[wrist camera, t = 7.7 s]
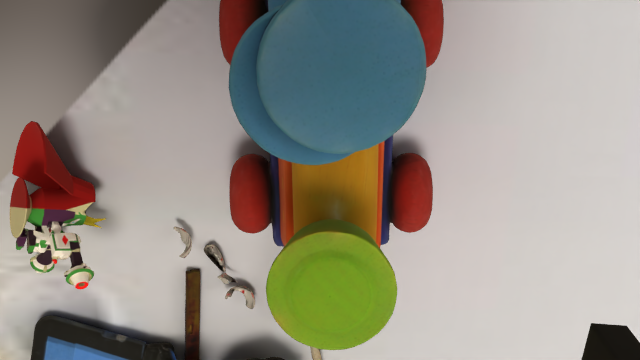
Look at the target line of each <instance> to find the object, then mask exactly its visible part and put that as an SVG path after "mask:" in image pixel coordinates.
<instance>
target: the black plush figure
mask: <svg viewBox="0 0 640 360" xmlns="http://www.w3.org/2000/svg"><path fill="white" fill-rule="evenodd" d="M248 360H284V359H282V358H280V357H270V358H266V359H260V358H252V359H248Z"/></svg>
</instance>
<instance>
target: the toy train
mask: <svg viewBox="0 0 640 360" xmlns="http://www.w3.org/2000/svg"><path fill="white" fill-rule="evenodd" d="M443 22H444V19H443V4H442V0H221V1H220V11H219V27H220V41H221V47H222V51H223V54H224V57H225V59H226V60H227V62H228V63H229V64H230V65H231V66H230V73H229V92H230V97H231V102H232V106H233V109H234V111H235V113H236V116H237V118H238V120H239V122H240V124H241V125H242V127H243V128H244V129H245V131H246V132H247V133H248V135H249V136H250V137H251V138H252V139H253V140H254V141H255V142H256V143H257V144H258V145H259V146H260V147H261V148H262V149H264V150H265V151H267V152H269V153H270V163H269V162H268V161H267V160H266V159H265V158H264V157H262V156H259V155H256V154H248V155H244V156H242V157H241V158H239V159H238V160H237V161H236V162H235V164H234V165H233V168H232V171H231V176H230V210H231V216H232V220H233V222H234V224H235V225H236V226H237V227H238V228H239V229H240V230H242V231H243V232H246V233H257V232H260V231H262V230H264V229H265V228H267V226H268V225H269V224H270V223H272V227H273V239H274V242H275V244H276V245H277V246H284V248H283V249H282V251H281V252H280V253H279V255H278V256H277V257H276V259H275V261H274V262H273V264H272V267H271V269H270V271H269V274H268V279H267V284H266V294H267V301H268V305H269V308H270V310H271V313H272V315H273V317H274V319H275V320H276V322H277V323H278V324H279V325H280V327H281V328H282V329H283V330H284V331H285V332H286V333H287V334H288V335H290V336H291V337H292V338H294V339H295V340H297V341H299V342H301V343H303V344H305V345H308V346H310V347H311V353H312V358H313V360H322V358H321V354H320V351H319V349H325V350H342V349H348V348H352V347H355V346H357V345H360V344H362V343H364V342H366V341H368V340H369V339H370V338H372V337H373V336H375V335H376V334H378V333H379V331H380V330H381V329H382V328H383V327H384V326H385V325H386V323H387V322H388V320H389V319H390V317H391V315H392V314H393V311H394V307H395V303H396V297H397V284H396V279H395V274H394V271H393V269H392V267H391V265H390V263H389V261H388V260H387V258H386V257H385V255H384V254H383V252H382V251H381V249H380V245H383V244H386V243H387V242H388V240H389V226H390V222H391V223H393V225H394V226H395V227H396V228H398V229H399V230H401V231H405V232H409V233H410V232H416V231H418V230H420V229H422V228H423V227H424V226H425V225H426V224H427V222H428V220H429V218H430V215H431V211H432V200H433V186H432V177H431V171H430V167H429V166H428V164H427V162H426V160H425V159H423V158H422V157H421V156H420V155H417V154H415V153H405V154H401V155H399V156H398V157H396V158H395V159H394V160H393V162H392V149H393V134H394V133H395V132H397V131H398V130H399V129H400V128H401V127H402V126H403V125H404V124H405V123H406V121H407V120H408V119H409V118H410V116H411V115H412V113H413V111H414V109H415V108H416V106H417V104H418V102H419V99H420V97H421V94H422V92H423V89H424V85H425V80H426V68H427V67H429V66H430V65H432V64H433V63H434V62H435V60H436V59H437V56H438V54H439V51H440V48H441V43H442V37H443Z"/></svg>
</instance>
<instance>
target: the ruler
mask: <svg viewBox="0 0 640 360" xmlns="http://www.w3.org/2000/svg"><path fill="white" fill-rule="evenodd" d="M199 323H200V270H199V269H194V270H190V271H186V305H185V360H199Z"/></svg>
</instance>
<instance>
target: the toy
mask: <svg viewBox="0 0 640 360" xmlns="http://www.w3.org/2000/svg"><path fill="white" fill-rule="evenodd" d="M174 229H175V230H176V231H178V232H179V233H180V234H181V239H182V241H183V242H184V243H185V244H186V249H185V251H184V252H183V253H182V254H181V255H180V256H179V257H182V258H185V257H186V256H187V255H188V254H189V252H190V250H191V247H192V240H191V237H190V235H189V234H188V233H187V232H186V231H185V230H184V229H182V228H179V227H174ZM204 252H205V253H206V255H207V256H208V257H209V258H210V259H211V261H212V262H213V263H214V264H215V265H216V266H217V267H218V268H219V269H220V270H221V271H223V272H225V265H224V261H223V258H222V255H221V253H220V252H219V250H218V249H217V247H216V246H215V245H213V244H210V245H207V246H206V247H205V248H204ZM218 278H219V279H221V280H222V281H223V283H224V284H230V283H229V282H237V281H236V280H235V279H233V278H232V277H230V276H229V275H227V274H226V273H223V274H221V275H220V276H218ZM228 281H229V282H228ZM237 283H238V282H237ZM236 290H237V291H241V292H242V293H243V294H244V296H245V298H246V306H247V307H248V308H250V309H253V308H254V305H255V298H254V295H253V293H252V291H251V290H250V289H249V288H248V287H246V286H241V285H239V286H235V287H233V288H231V289H230V290H229V291H228V292H227V294H226V296H225V299H227V298H228V297H231V295H232V293H233V291H236Z"/></svg>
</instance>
